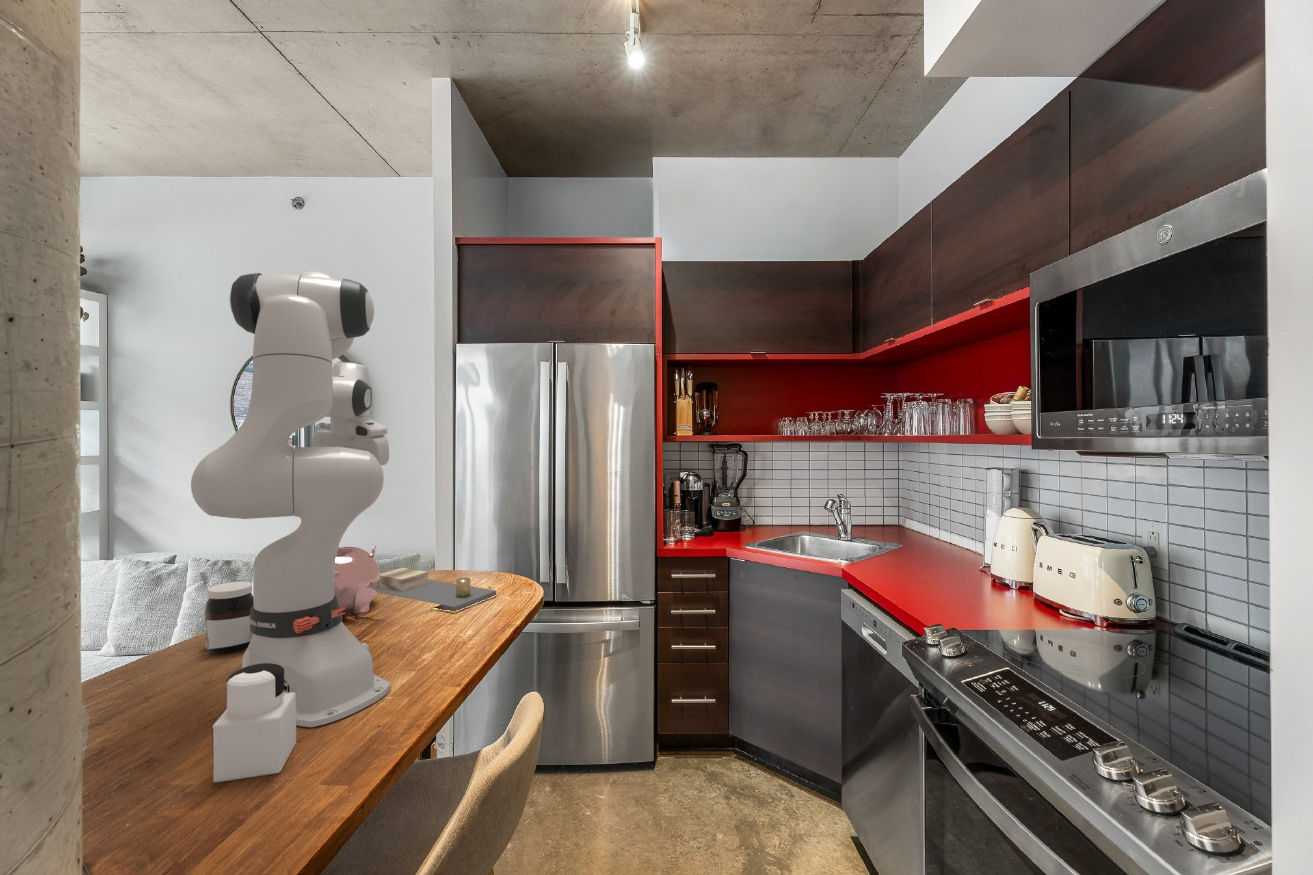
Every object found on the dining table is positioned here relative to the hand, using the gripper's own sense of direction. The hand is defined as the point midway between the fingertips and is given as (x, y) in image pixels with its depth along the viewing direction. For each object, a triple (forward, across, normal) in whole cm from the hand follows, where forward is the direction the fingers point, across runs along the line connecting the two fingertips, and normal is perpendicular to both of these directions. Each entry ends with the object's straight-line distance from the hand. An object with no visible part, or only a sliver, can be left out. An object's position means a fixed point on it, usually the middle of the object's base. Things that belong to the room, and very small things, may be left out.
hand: (349, 479), depth 151 cm
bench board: (+25, +26, -5) cm, 37 cm away
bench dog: (+23, +37, -7) cm, 44 cm away
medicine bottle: (+18, +45, -72) cm, 87 cm away
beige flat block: (+25, +18, -3) cm, 31 cm away
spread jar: (+24, +11, -41) cm, 49 cm away
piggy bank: (+25, +15, -23) cm, 37 cm away
